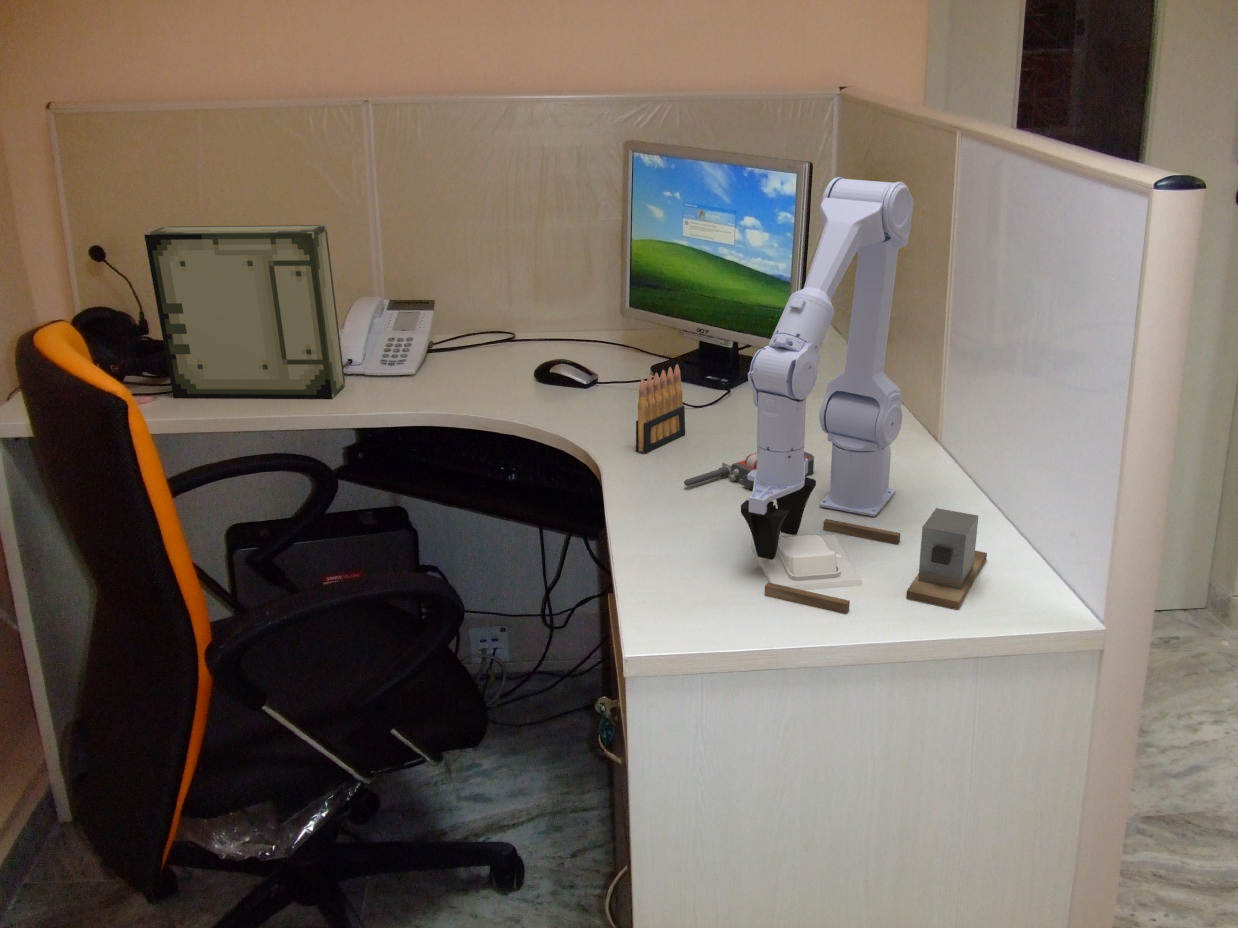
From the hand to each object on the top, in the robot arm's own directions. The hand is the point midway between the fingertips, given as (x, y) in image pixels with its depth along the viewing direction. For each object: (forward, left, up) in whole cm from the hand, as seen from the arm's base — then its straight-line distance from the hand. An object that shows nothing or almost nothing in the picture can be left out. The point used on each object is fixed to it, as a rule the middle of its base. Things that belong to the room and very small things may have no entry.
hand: (777, 544), depth 145 cm
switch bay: (0, +8, -1) cm, 8 cm away
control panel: (-21, -110, -2) cm, 113 cm away
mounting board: (-3, +21, -1) cm, 21 cm away
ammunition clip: (-29, -31, -2) cm, 43 cm away
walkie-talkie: (-22, -12, -2) cm, 25 cm away
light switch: (+1, +4, -2) cm, 5 cm away
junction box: (-2, +21, 0) cm, 21 cm away
